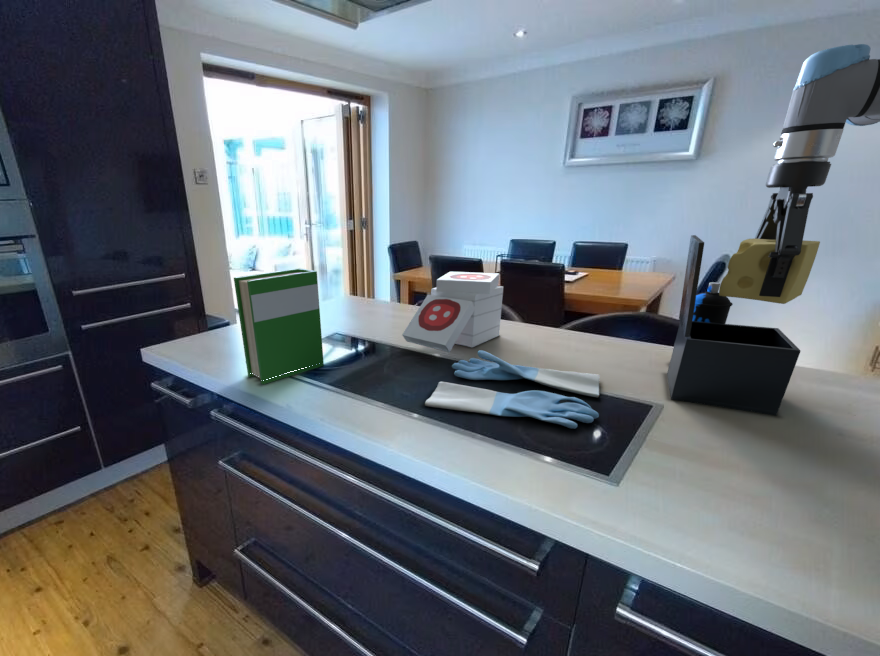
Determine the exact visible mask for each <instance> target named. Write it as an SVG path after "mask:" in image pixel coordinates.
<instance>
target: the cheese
mask: <svg viewBox="0 0 880 656" xmlns="http://www.w3.org/2000/svg"><path fill="white" fill-rule="evenodd" d="M775 244H776V240H772V239H755V237H754V238H747V239H744V240H742V241H741V242H740V244H739V247H738V249H737V251H736V252H734V253H733V254H732V255H731V257H730V259H729V260H728V263H727V272H726V275H725V276H723V278H722V280H721V281H720V287H719V290H718V293H719V296H725V297H727V298H736V299H737V298H738V299H745V300H751V301H753V300H754V301H761V302H768V303H774V304H775V303H776V304H782V305H785V304H788V303H790V302H791V301H793V300H795V299H797V298H798V297H800V296H802V295H803V292H804V290H805V287H806V284H807V282H808V280H809V277H810V274H811V271H812V268H813V266H814V263H815V260H816V257H817V254H818V251H819V248H820V244H821V241H820V240H803V241H802V246H801V253H800V254H799V255H796V256H795V257H794V258H793V260H792V263H791V266H790V269H789V272H788V275H787V278H786V281H785V284H784V287H783V290H782V293H781V296H780V297H769V296H759V294H760V290H761V287H762V284H763V281H764V278H765V275H766V272H767V269H768V265H769V262H770V259H771V258H769V257H768V256H769V254H770V253H771V252H775Z"/></svg>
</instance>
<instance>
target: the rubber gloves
mask: <svg viewBox="0 0 880 656" xmlns="http://www.w3.org/2000/svg"><path fill="white" fill-rule="evenodd" d="M477 355H478V357H479V358H475V357H471V358H469V360H468V361H467V360H466V359H460V360H458V362H454V363H452V364H451V368H452V369H453V370H455V371H454V373H453V375H454V376H455V377H457V378H461V379H465V380H473V381H486V380H487V381H488V380H489V381H491V380H492V381H512V380H513V381H514V380H523V379H525V380H529V381H532V382H535V383H537V384H540V385H543V386H545V387H549V388H552V389H555V390H560V391H564V392H568V393H573V394H577V395H582V396H586V397H591V398H599V397H600V394H601V393H600V382H601V381H600V379H601V375H600V374H597V373H596V374H595V373H587V372H578V371H569V370H557V369H552V368H543V367H533V366H527V365H526V366H525V365H517V364H511V363H510V362H508V361H505V360H503V359H502V358H501V357H497V356H496V355H494V354H492V353H490V352H487V351H486V350H482V349H481V350H478V351H477ZM480 358H481V359H480ZM482 359H483V360H482ZM560 401H566V402H560ZM424 406H425V407H430V408H437V409H444V410H445V409H446V410H452V411H453V410H454V411H462V412H467V413H477V414H484V415H492V416H497V417H512V418H521V417H523V418H524V417H530V418H533V419H536V420H539V421H542V422H546V423H551V424H555V425H559V426H563V427H565V428H568V429H572V430H576V429H577V428H578V427H579V426H578V423H577V422H576V421H578V422H581V423H583V424H592V423H593V422H594V421H595V420H597V419H598V418H599V417H600V413H599V412H598V411H596V410H594V409H593V408H592V407H591V405H590V404H588V403H587V402H585V400H583V399H580V398H578V397H575V396H565V395H562V394H559V393H555V392H554V393H553V392H550V391H545V390H538V389H537V390H535V389H534V390H525V391H519V392H517V393H508V392H500V391H496V390H492V389H486V388H481V387H475V386H469V385H463V384H458V383H453V382H447V381H439V382H438V384H437V387H435V389H434V391H433V392H432V394H431V395H430V397H429V398H427V399H426V400H425V401H424ZM573 420H574V421H573Z"/></svg>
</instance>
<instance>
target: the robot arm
mask: <svg viewBox="0 0 880 656" xmlns="http://www.w3.org/2000/svg"><path fill="white" fill-rule="evenodd" d="M870 54H871V46H870V45H869V44H867V43H866V44H865V43H858V44H844V45H840V46H834V47H830V48H826V49H821V50H819V51H816V52H815V53H812V54H811V55H810V56H808V57H807V58H806V59H805V60H804V61H803V63H802V65H801V68H800V71H799V74H798V77H797V79H796V82H795V85H794V87H793V89H792V91H791V92H792V93H791V96H790V97H791V98H790V101H789V103H788V107H787V108H788V109H787V111H786V115H785V119H784V122H783V125H782V129H781V132H780V137H779V140H776V141H774V142H773V145H772V146H773V148H776V150H775V153H774V157H773V160H774V161H776V163H775V164H772V166H770V169H769V172H768V175H767V179H766V182H765V187H766V188H768V189H773V188H775V189H776V188H777V189H778V188H779V190H778V192H772V194H771V195H770V199H769V202H768V206H767V208H766V210H765V213H764V214H763V217H762V219H761V222H760V225H759V227H758V229H757V232H756V234H755V236H754V238H755V239H772V240H776V244H775V252H771V253H770V254H769V256H768V257H769V258H771V259H770V262H769V265H768V269H767V272H766V275H765V278H764V281H763V284H762V287H761V290H760V294H759V296H769V297H780V296H781V293H782V290H783V287H784V284H785V281H786V278H787V275H788V272H789V269H790V266H791V263H792V260H793V258H794V257H795V256H796V255H799V254H800V253H801V246H802V241H804V235H805V231H806V226H807V220H808V215H809V210H810V207H811V203H812V200H813V198H814V193H813V192H807V189H808V187H811V188H812V187H821V186H822V187H823V185H824V184H826V181H827V178H828V175H829V172H830V170H831V167H832V163H831V161H829V159H831V158H833V157H835V156H836V153H837V150H838V147H839V144H840V141H841V138H842V136H843V133H844V130H845V126H846V124H847V125H850V126H855V127H864V126H865V127H866V126H872V125H875V124H878V123H880V58H871V55H870Z"/></svg>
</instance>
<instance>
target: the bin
mask: <svg viewBox="0 0 880 656" xmlns="http://www.w3.org/2000/svg"><path fill="white" fill-rule="evenodd" d="M801 352H802V350H800V348H799V347H798V346H797V345H796V344H795V343H794V342H793V341H792V340H791V339H790V338H789V337H788V336H787V335H786V334H785V333H784V332H783V331H782V330H781V329H780V328H779V327H769V326H755V325H743V324H742V325H741V324H732V323H731V324H730V323H725V324H721V323H709V322H697V321H692V326H691V333H690V337H685V335H684V332H683V329H682V326H681V323H680V322H679V325H678V329H677V333H676V337H675V340H674V344H673V347H672V352H671V357H670V361H669V364H668V369H667V372H666V375H667V382H668V390H669V395H670V400H674V401H679V402H687V403H691V404H698V405H706V406H710V407H718V408H726V409H731V410H739V411H745V412H750V413H757V414H764V415H770V416H778V413H779V410H780V407H781V405H782V403H783V399H784V397H785V395H786V392H787V389H788V387H789V384H790V380H791V378H792V375H793V373H794V370H795V367H796V365H797V362H798V359H799V356H800V354H801Z"/></svg>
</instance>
